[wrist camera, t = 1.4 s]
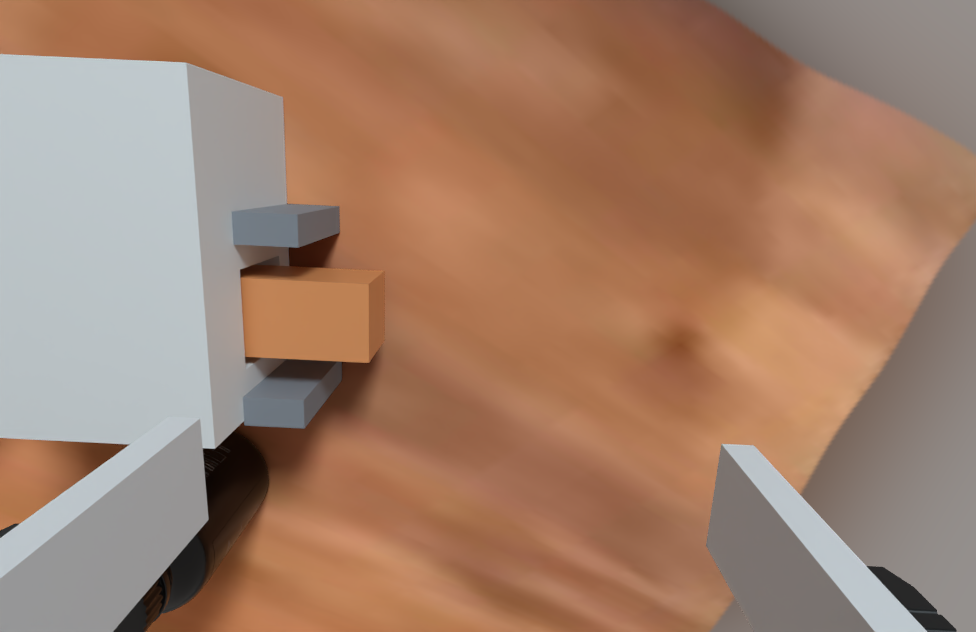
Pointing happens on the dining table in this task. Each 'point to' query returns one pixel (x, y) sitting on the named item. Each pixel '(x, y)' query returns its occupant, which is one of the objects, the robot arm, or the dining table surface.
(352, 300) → the block
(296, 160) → the dining table surface
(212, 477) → the supplement bottle
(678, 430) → the dining table surface
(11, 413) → the box
